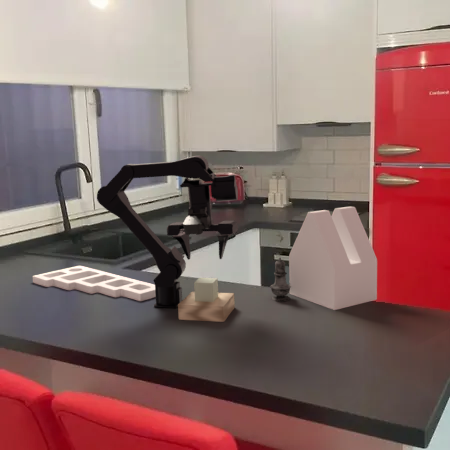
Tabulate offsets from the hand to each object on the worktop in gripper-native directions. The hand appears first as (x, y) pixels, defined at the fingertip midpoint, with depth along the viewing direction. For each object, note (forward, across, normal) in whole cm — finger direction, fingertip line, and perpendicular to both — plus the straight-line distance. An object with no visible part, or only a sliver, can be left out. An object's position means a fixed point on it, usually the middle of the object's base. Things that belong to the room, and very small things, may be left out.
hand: (204, 259), depth 171 cm
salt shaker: (+14, +18, +9) cm, 25 cm away
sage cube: (+9, +2, -7) cm, 12 cm away
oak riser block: (+13, +2, -7) cm, 15 cm away
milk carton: (+15, +32, +14) cm, 38 cm away
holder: (+12, -40, +10) cm, 43 cm away
